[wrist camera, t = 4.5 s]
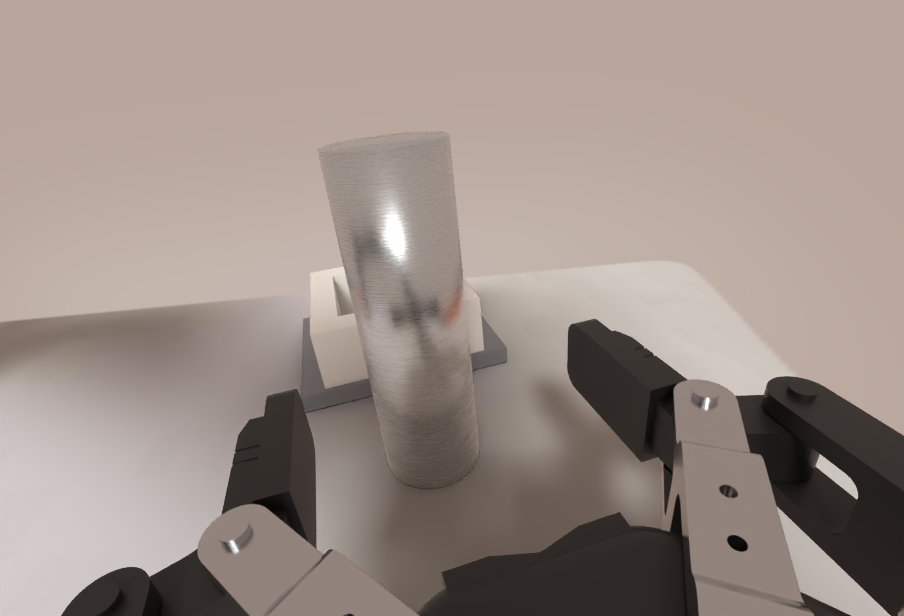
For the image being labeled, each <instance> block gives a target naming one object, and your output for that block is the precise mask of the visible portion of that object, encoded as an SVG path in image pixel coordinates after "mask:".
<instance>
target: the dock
mask: <svg viewBox="0 0 904 616" xmlns="http://www.w3.org/2000/svg"><path fill="white" fill-rule="evenodd" d="M463 280H464V278H463ZM464 291H465V301H466V311H467V322H468V332H469V342H470V353H471V363H472V370H476V369H479V368H483V367H487V366H491V365H495V364H499V363H503V362H507V353H506V347H505V345H504V344H503V343H502V342H501V340H500V339H499V338H498V336H497V335H496V334H495V333H494V331H493V330H492V329H491V327H490V326H489V325H488V324H487V322H486V321H485V320H484V318H483V317H482V316H481V306H480V297H479V296H478V295H477V294H476V293H475V291H474V290H473V289H472V288H471V287H470V285H469V284H468V283H467V282H466V281H465V280H464ZM369 396H373V395H372V390H371V386H370V381H369V377H368V372H367V368H366V363H365V359H364V355H363V350H362V346H361V341H360V337H359V332H358V328H357V323H356V319H355V315H354V310H353V306H352V301H351V297H350V292H349V288H348V284H347V279H346V275H345V270H344V267H339V268H334V269H330V270H324V271H318V272H313V273H310V318H305V319H304V320H303V354H302V389H301V399H302V402H303V405H304V408H305V412H309V411H313V410H317V409H321V408H325V407H329V406H333V405H337V404H341V403H345V402H349V401H353V400H357V399H361V398H365V397H369Z"/></svg>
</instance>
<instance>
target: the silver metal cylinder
mask: <svg viewBox="0 0 904 616" xmlns="http://www.w3.org/2000/svg"><path fill="white" fill-rule="evenodd" d="M318 155H319V159H320V164H321V168H322V173H323V177H324V181H325V186H326V190H327V195H328V199H329V203H330V208H331V212H332V217H333V221H334V226H335V230H336V234H337V239H338V244H339V248H340V252H341V257H342V261H343V266H344V270H345V275H346V279H347V284H348V288H349V292H350V297H351V301H352V306H353V310H354V315H355V319H356V323H357V328H358V332H359V337H360V341H361V346H362V350H363V355H364V359H365V363H366V368H367V372H368V377H369V381H370V386H371V390H372V395H373V399H374V403H375V408H376V412H377V417H378V421H379V426H380V430H381V435H382V439H383V443H384V448H385V452H386V457H387V461H388V465H389V468H390V470H391V472H392V474H393V475H394V476H395V477H396V478H397V479H398V480H400V481H401V482H403V483H405V484H407V485H409V486H412V487H416V488H425V489H430V488H439V487H443V486H447V485H450V484H452V483H454V482H456V481H458V480H460V479H461V478H463V477H464V476H465V475H467V474H468V473H469V472H470V471H471V470H472V468H473V467H474V466H475V464H476V462H477V460H478V457H479V453H480V445H479V435H478V425H477V414H476V404H475V394H474V384H473V373H472V363H471V353H470V342H469V332H468V322H467V311H466V301H465V291H464V280H463V270H462V261H461V250H460V239H459V229H458V219H457V208H456V198H455V189H454V177H453V167H452V157H451V147H450V137H449V133H447V132H436V131H435V132H434V131H430V132H410V133H398V134H388V135H380V136H372V137H366V138H359V139H353V140H348V141H343V142H339V143H334V144H330V145H327V146H324V147H321V148H319V149H318Z"/></svg>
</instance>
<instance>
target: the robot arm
mask: <svg viewBox="0 0 904 616" xmlns="http://www.w3.org/2000/svg"><path fill="white" fill-rule="evenodd" d="M567 369H568V374H569V378H570V380H571V382H572V384H573V386H574V387H575V388H576V389H577V391H578V392H579V393H580V394H581V395H582V396H583V397H584V398H585V400H586V401H587V402H588V403H589V404H590V405H591V406H592V407H593V408H594V410H595V411H596V412H597V413H598V414H599V415H600V416H601V417H602V419H603V420H604V421H605V422H606V423H607V424H608V425H609V426H610V427H611V429H612V430H613V431H614V432H615V433H616V434H617V435H618V436H619V438H620V439H621V440H622V441H623V442H624V443H625V444H626V445H627V446H628V448H629V449H630V450H631V451H632V452H633V453H634V454H635V455H636V457H637V458H638V459H639V460H640V461H641V462H644V461H647V460H650V459H653V458H656V457H659V459H660V460H661V461H662V467H661V501H662V530H661V529H658V528H652V527H645V526H629V524H628V523H627V522H626V520H625V519H624V518H623V516H622V515H621V513H620V512H619V513H616V514H613V515H610V516H607V517H604V518H601V519H598V520H595V521H592V522H589V523H586V524H583V525H580V526H578V527H577V528H575V529H574V530H572V531H571V532H569V533H568V534H566V535H565V536H564V537H562V538H561V539H559V540H558V541H556V542H555V543H554V544H552V545H551V546H549V547H548V548H546V549H545V550H543V551H541V552H538V553H529V554H516V555H503V556H490V557H486V558H483V559H480V560H477V561H474V562H471V563H468V564H465V565H462V566H459V567H456V568H453V569H450V570H447V571H444V572H442V577H443V582H444V588H445V589H444V590H442V591H441V592H440V593H438V594H437V595H435V596H434V597H433V598H432V599H431V600H430V601H428V602H427V603H426V604H425V605H424V606H423V607H422V609H421V610H420V611H419V612H418V613H415V612H414V611H413V610H412V609H410V608H409V607H408V606H407V605H405V604H404V603H403V602H401V601H400V600H399V599H398V598H396V597H395V596H394V595H393V594H391V593H390V592H389V591H388V590H386V589H385V588H384V587H382V586H381V585H380V584H379V583H377V582H376V581H375V580H374V579H372V578H371V577H370V576H369V575H367V574H366V573H365V572H363V571H362V570H361V569H360V568H358V567H357V566H356V565H355V564H353V563H352V562H351V561H349V560H348V559H347V558H346V557H344V556H343V555H342V554H340V553H339V552H337V551H335V550H332V549H330V550H328V551H327V552H326V553H325V554H323V553H321V552H320V551H318V550H317V549H316V472H315V448H314V442H313V437H312V433H311V430H310V427H309V423H308V420H307V417H306V414H305V411H304V408H303V404H302V401H301V398H300V395H299V392H298V391H297V389H294V390H290V391H286V392H282V393H278V394H273V395H269V396H267V400H266V407H265V413H264V416H263V417H259V418H255V419H251V420H249V421H248V423H247V424H246V426H245V427H244V428H243V430H242V431H241V432H240V434H239V435H238V440H237V444H236V449H235V452H236V453H235V454H234V459H233V463H232V464H233V467H232V468H231V473H230V477H229V482H228V487H227V492H226V496H225V501H224V506H223V510H222V515H221V516H220V517H218V518H217V519H216V520H215V521H213V522H212V523H211V525H210V526H209V527H208V528H207V529H206V530H205V532H204V533H203V535H202V537H201V539H200V541H199V544H198V549H196V550H195V551H194V552H192V553H191V554H189V555H188V556H186V557H184V558H183V559H181V560H179V561H177V562H176V563H174V564H172V565H170V566H168V567H167V568H165V569H163V570H161V571H159V572H158V573H156V574H154V575H152V576H150V577H149V576H148V574H147V573H146V572H145V571H144V570H142V569H140V568H137V567H127V568H122V569H118V570H115V571H113V572H110V573H108V574H106V575H104V576H102V577H100V578H99V579H97V580H96V581H94V582H93V583H91V584H90V585H89V586H87V587H86V588H85V589H84V590H82V591H81V592H80V593H79V594H78V595H77V596H76V597H75V598H74V599H73V600H72V601H71V603H70V604H69V605H68V606H67V608H66V609H65V611H64V612H63V614H62V615H61V616H850V615H848V614H846V613H844V612H842V611H840V610H838V609H836V608H833V607H831V606H829V605H827V604H825V603H823V602H821V601H819V600H817V599H814V598H812V597H810V596H808V595H806V594H804V593H802V592H800V590H799V586H798V583H797V579H796V575H795V572H794V568H793V564H792V561H791V557H790V554H789V550H788V546H787V543H786V539H785V535H784V532H783V528H782V524H781V521H780V517H779V514H778V510H777V507H778V508H779V509H780V510H782V511H783V512H784V513H785V514H786V515H787V516H788V517H789V518H790V519H791V520H792V521H793V522H794V523H795V524H796V525H797V526H798V527H799V528H800V529H801V530H802V531H803V532H804V533H805V534H807V535H808V536H809V537H810V538H811V539H812V540H813V541H814V542H815V543H816V544H817V545H818V546H819V547H820V548H821V549H822V550H823V551H824V552H825V553H826V554H827V555H828V556H829V557H830V558H831V559H833V560H834V561H835V562H836V563H837V564H838V565H839V566H840V567H841V568H842V569H843V570H844V571H845V572H846V573H847V574H848V575H849V576H850V577H851V578H852V579H853V580H854V581H855V582H856V583H858V584H859V585H860V586H861V587H862V588H863V589H864V590H865V591H866V592H867V593H868V594H869V595H870V596H871V597H872V598H873V599H874V600H875V601H876V602H877V603H878V604H879V605H880V606H881V607H883V608H884V609H885V610H886V611H887V612H888V613H889V614H890V615H891V616H904V436H903V435H902V434H900V433H898V432H897V431H895V430H894V429H892V428H890V427H889V426H887V425H885V424H884V423H882V422H881V421H879V420H877V419H876V418H874V417H872V416H871V415H869V414H868V413H866V412H864V411H863V410H861V409H860V408H858V407H856V406H855V405H853V404H851V403H850V402H848V401H847V400H845V399H843V398H842V397H840V396H838V395H837V394H835V393H834V392H832V391H830V390H829V389H827V388H826V387H824V386H822V385H820V384H818V383H815V382H813V381H810V380H807V379H803V378H798V377H788V376H785V377H777V378H773V379H771V380H770V381H769V382H768V383H767V386H766V390H765V393H764V395H749V396H735V395H734V394H733V393H732V392H731V391H729V390H728V389H727V388H725V387H723V386H721V385H719V384H716V383H713V382H710V381H705V380H687V379H686V378H684V377H683V376H682V375H680V374H679V373H678V372H677V371H675V370H674V369H673V368H671V367H670V366H669V365H667V364H666V363H665V362H663V361H662V360H661V359H659V358H658V357H657V356H654V355H653V353H652V352H650V351H649V350H648V349H646V348H644V346H642V345H641V344H640V343H638V342H637V341H636V340H635V339H633V338H632V337H630V336H627V335H625V334H622V333H620V332H617V331H611V330H609V329H608V328H607V327H606V326H604V325H603V324H602V323H601V322H599V321H598V320H596V319H592V320H588V321H583V322H579V323H575V324H571V325H570V327H569V330H568V362H567ZM820 454H821V455H822V456H823V457H825V458H826V459H827V460H829V461H830V462H831V463H833V464H834V465H835V466H837V467H838V468H839V469H840V470H842V471H843V472H844V473H846V474H847V475H848V476H849V477H850V478H851V479H852V481H853V482H854V484H855V485H856V487H857V490H858V499H857V500H856V499H855V498H854V497H853V496H851V495H850V494H849V493H848V492H846V491H845V490H844V489H843V488H841V487H840V486H839V485H838V484H836V483H835V482H834V481H833V480H831V479H830V478H829V477H828V476H826V475H825V474H824V473H823V472H821V471H820V470H819V469H818V468H816V467H815V466H816V463H817V460H818V458H819V455H820Z"/></svg>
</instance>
